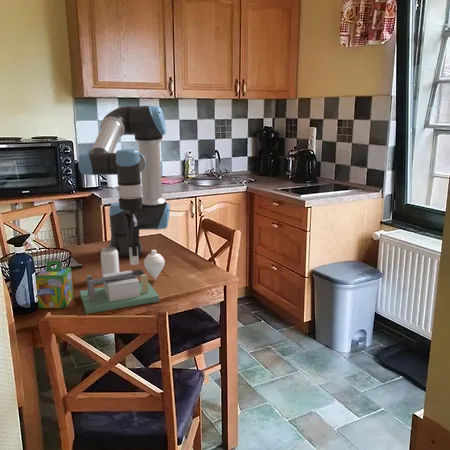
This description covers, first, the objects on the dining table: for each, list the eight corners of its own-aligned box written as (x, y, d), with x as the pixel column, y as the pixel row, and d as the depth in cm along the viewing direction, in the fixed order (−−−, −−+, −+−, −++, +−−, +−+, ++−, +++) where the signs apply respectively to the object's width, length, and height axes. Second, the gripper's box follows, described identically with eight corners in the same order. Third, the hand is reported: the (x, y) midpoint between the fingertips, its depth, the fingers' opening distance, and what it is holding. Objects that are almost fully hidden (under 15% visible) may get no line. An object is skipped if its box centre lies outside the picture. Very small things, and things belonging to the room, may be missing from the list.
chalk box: (38, 309, 154) (33, 266, 150) (47, 298, 163) (43, 257, 159) (66, 308, 154) (61, 266, 150) (74, 297, 163) (70, 257, 159)
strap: (88, 282, 158) (87, 278, 157) (142, 272, 165) (142, 268, 164) (89, 285, 155) (89, 281, 154) (144, 275, 162) (144, 271, 161)
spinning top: (166, 282, 176) (165, 252, 173) (146, 285, 174) (144, 254, 171) (163, 275, 183) (162, 246, 180) (143, 278, 181) (142, 248, 178)
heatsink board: (80, 296, 164) (78, 271, 162) (147, 285, 173) (146, 262, 171) (86, 314, 150) (83, 287, 148) (159, 301, 159) (157, 276, 157)
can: (123, 276, 183) (121, 247, 180) (113, 282, 177) (111, 252, 174) (108, 275, 185) (106, 245, 182) (99, 280, 179) (96, 250, 176)
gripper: (115, 194, 160) (119, 259, 166) (122, 201, 148) (127, 271, 154) (137, 192, 162) (140, 256, 169) (146, 199, 151) (149, 268, 157)
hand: (134, 263), depth 161 cm, fingers closed
